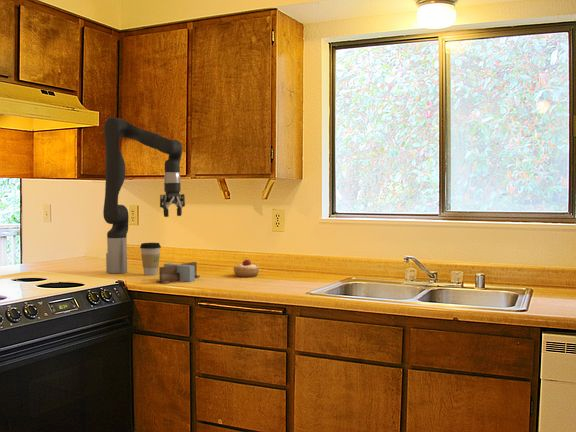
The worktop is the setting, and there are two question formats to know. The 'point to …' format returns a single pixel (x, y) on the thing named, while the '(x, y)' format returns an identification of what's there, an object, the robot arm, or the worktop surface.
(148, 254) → the coffee cup
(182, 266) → the cross bar
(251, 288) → the worktop surface
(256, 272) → the pastry
